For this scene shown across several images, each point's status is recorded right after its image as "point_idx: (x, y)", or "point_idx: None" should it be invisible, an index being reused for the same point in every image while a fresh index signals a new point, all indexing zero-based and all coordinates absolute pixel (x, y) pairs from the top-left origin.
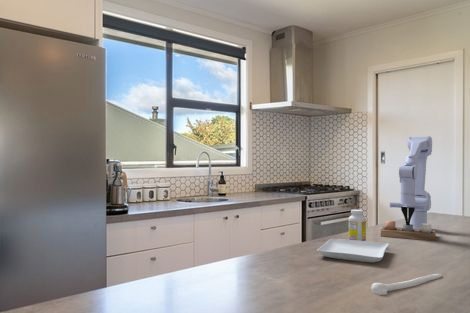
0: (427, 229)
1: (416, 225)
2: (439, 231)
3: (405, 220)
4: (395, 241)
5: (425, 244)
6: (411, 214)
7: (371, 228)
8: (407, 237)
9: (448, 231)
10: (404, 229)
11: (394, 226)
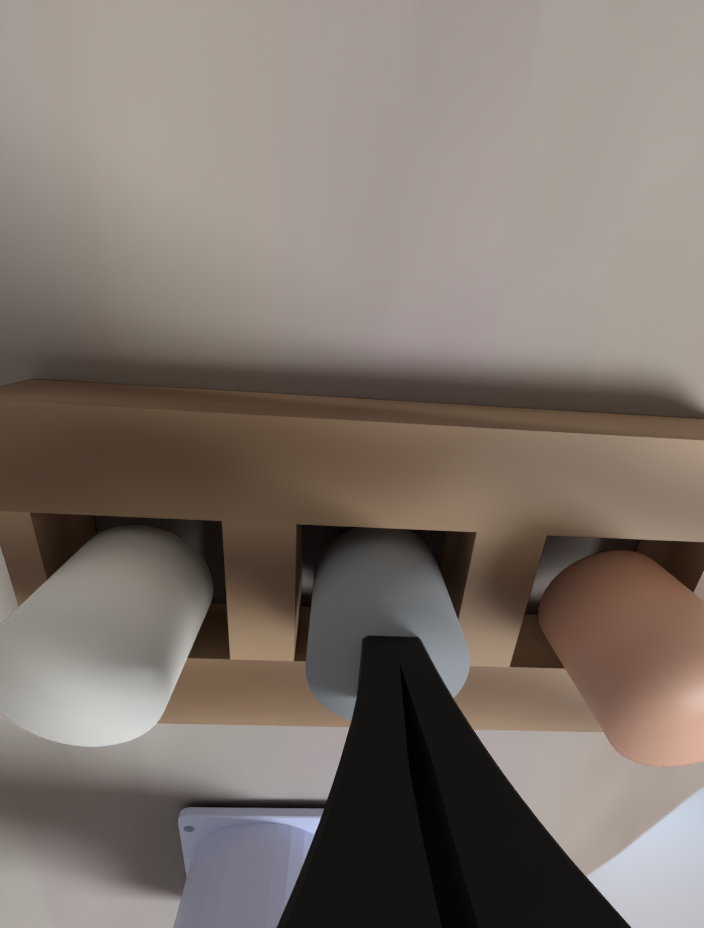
0: (80, 564)
1: (274, 872)
2: (92, 838)
3: (456, 705)
4: (596, 80)
5: (125, 9)
6: (324, 896)
7: (688, 764)
8: (390, 402)
9: (24, 859)
10: (432, 571)
11: (587, 613)
